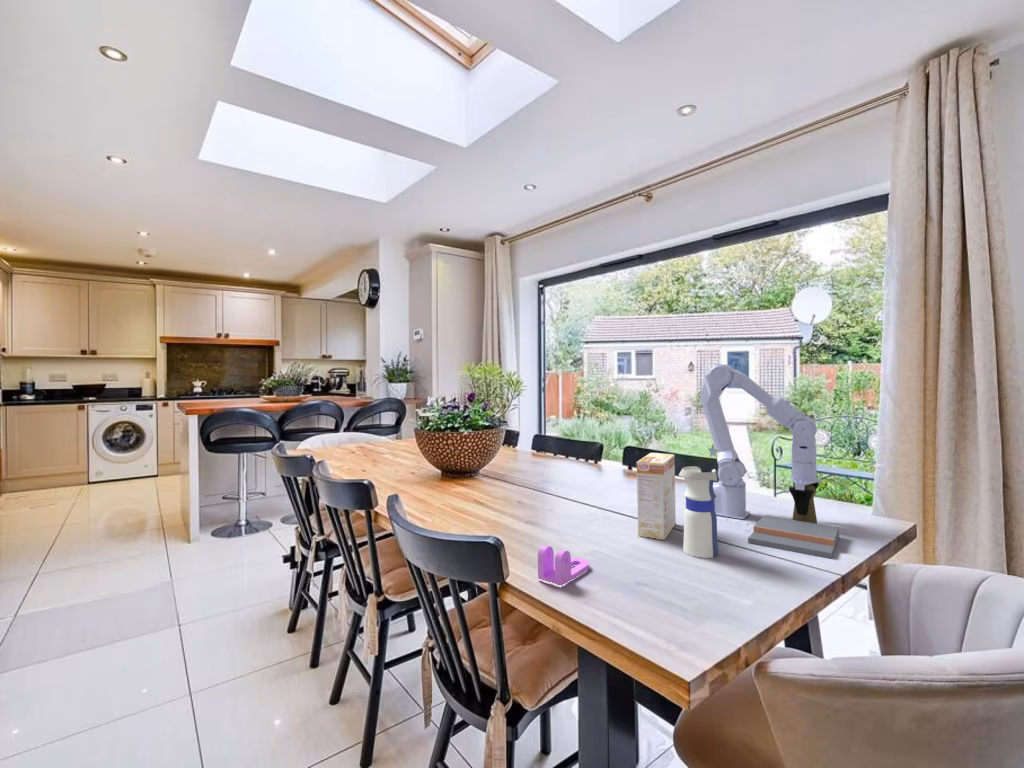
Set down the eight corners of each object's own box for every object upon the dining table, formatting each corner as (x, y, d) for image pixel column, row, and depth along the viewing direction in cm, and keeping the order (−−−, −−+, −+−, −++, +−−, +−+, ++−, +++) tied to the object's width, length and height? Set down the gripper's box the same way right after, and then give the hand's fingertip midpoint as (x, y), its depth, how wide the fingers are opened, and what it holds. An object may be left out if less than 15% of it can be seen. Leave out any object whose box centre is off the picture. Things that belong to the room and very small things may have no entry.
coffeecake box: (650, 520, 136) (649, 452, 136) (676, 524, 132) (675, 453, 132) (636, 536, 123) (635, 461, 123) (664, 540, 119) (663, 463, 119)
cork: (810, 520, 133) (810, 481, 133) (822, 527, 127) (822, 486, 127) (787, 520, 134) (787, 481, 133) (798, 527, 128) (798, 486, 127)
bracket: (561, 589, 94) (560, 554, 94) (538, 582, 97) (537, 548, 97) (594, 567, 104) (593, 536, 104) (572, 561, 108) (571, 531, 107)
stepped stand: (748, 542, 117) (748, 532, 117) (763, 525, 130) (763, 515, 130) (831, 558, 106) (831, 547, 106) (839, 537, 119) (839, 527, 119)
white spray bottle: (690, 542, 118) (688, 441, 117) (725, 551, 112) (724, 444, 111) (674, 551, 112) (672, 445, 112) (710, 561, 106) (709, 448, 105)
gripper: (817, 467, 122) (818, 520, 122) (824, 459, 133) (825, 507, 133) (786, 464, 126) (786, 515, 127) (795, 456, 137) (796, 503, 138)
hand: (804, 511), depth 130 cm, fingers open, 7 cm apart
